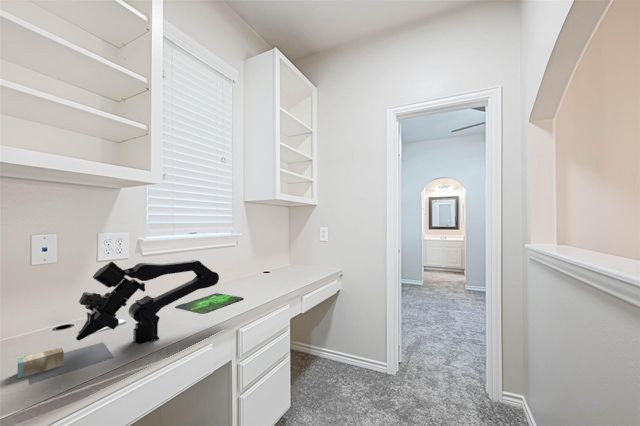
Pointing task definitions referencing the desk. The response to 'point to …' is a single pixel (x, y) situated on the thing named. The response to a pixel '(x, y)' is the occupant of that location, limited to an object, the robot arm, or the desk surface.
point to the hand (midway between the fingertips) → (77, 339)
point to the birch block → (40, 362)
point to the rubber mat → (75, 361)
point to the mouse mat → (209, 303)
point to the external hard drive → (110, 328)
